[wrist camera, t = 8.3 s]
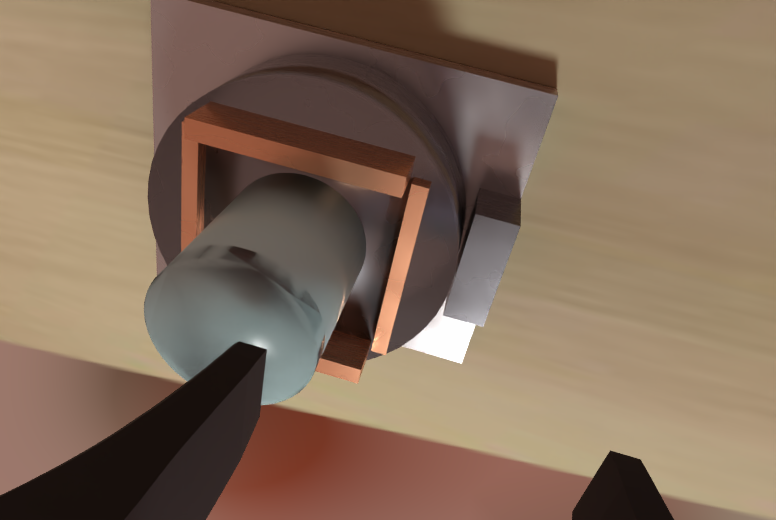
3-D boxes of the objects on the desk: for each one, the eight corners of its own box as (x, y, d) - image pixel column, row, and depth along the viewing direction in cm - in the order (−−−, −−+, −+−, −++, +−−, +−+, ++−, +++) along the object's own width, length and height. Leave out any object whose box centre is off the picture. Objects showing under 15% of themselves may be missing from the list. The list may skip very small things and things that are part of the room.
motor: (556, 88, 18) (567, 147, 14) (463, 350, 24) (449, 450, 20) (163, -13, 19) (52, 12, 14) (166, 265, 25) (88, 342, 20)
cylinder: (378, 195, 17) (330, 289, 13) (353, 312, 19) (305, 424, 15) (235, 155, 17) (141, 234, 13) (227, 276, 20) (146, 376, 15)
